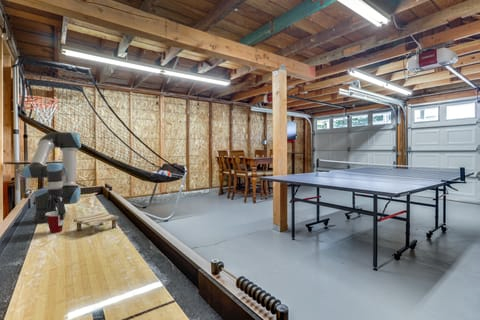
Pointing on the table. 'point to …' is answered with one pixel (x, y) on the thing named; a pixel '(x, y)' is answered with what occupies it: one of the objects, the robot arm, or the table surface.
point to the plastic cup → (53, 222)
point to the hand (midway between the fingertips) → (56, 223)
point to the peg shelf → (95, 221)
